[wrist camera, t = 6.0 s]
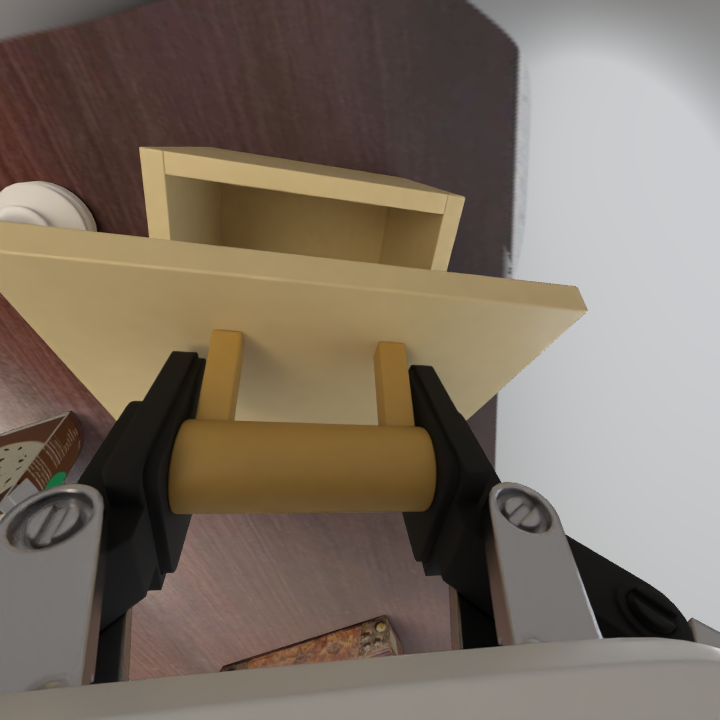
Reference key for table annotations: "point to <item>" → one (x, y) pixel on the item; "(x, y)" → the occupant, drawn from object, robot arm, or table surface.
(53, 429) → the food container
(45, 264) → the lid
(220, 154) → the light wooden open box
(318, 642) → the book
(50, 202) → the chess pawn
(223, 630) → the table surface
